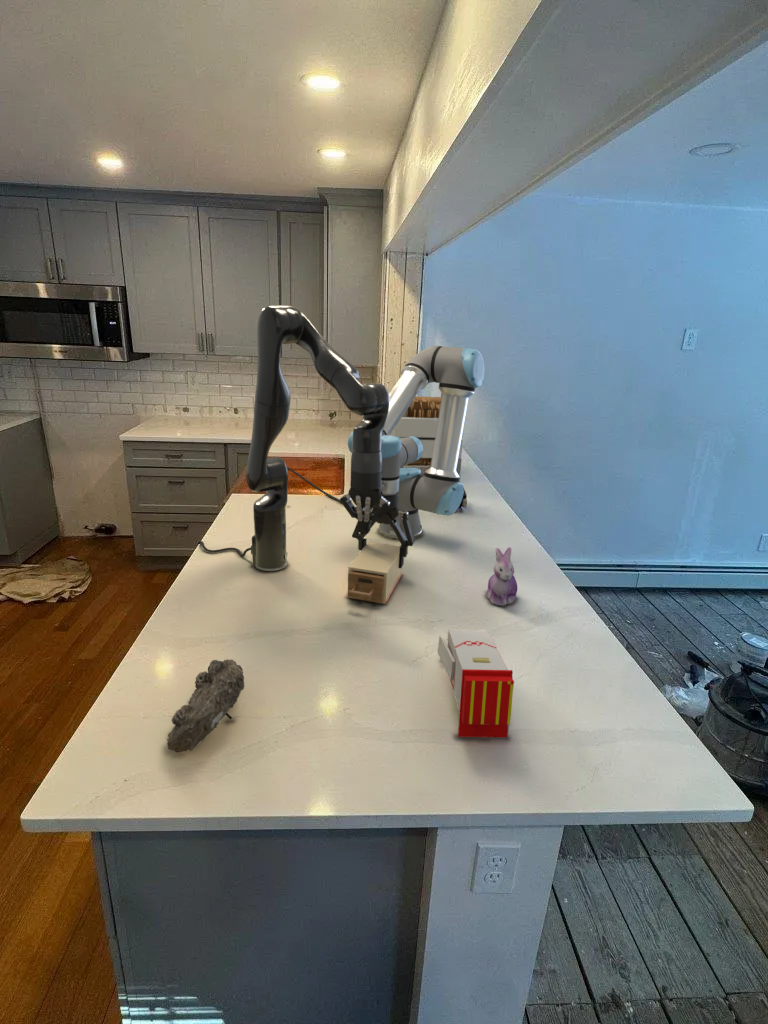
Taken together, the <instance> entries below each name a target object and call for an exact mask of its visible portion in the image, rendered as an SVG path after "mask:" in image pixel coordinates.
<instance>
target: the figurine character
mask: <svg viewBox="0 0 768 1024" xmlns="http://www.w3.org/2000/svg"><path fill="white" fill-rule="evenodd" d="M467 495H468V494H467V493H466V490H465V489H464V494H463V498H462V501H461V503H460V505H459V507H458V509H459V510H460V512H463V509H464V508H465V509H466V508H467V506H468V499H467V497H468V496H467ZM458 509H457V510H458Z"/></svg>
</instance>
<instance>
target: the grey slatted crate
mask: <svg viewBox="0 0 768 1024" xmlns="http://www.w3.org/2000/svg"><path fill="white" fill-rule="evenodd" d="M440 393H441V392H440ZM441 399H442V393H441V394H440V396H417V395H416V397H415V398H414V400H413V401H412V403H411V404H410V406H409V407H408V409H407V410H406V412H405V413H404V415H403V416H402V418H401V419H400V421H399V422H398V423H397V425H396V426H395V428H394V429H393V431H392V432H391V434H390V435H389V436H396V437H400V438H405V437H407V436H408V437H410V436H413V437H416V438H418V439H419V440H420V441H421V443H422V445H423V454H422V456H421V458H420V459H418V460H417V461H415V462H414V463H411V464H408V465H406V467H408V466H411V467H415V466H416V467H417V466H418V467H431V461H432V455H433V448H434V442H435V436H436V430H437V424H438V418H439V412H440V406H441ZM464 429H465V427H464V428H463V434H462V439H463V438H464V431H465V430H464ZM462 439H461V445H460V451H459V457H458V463H457V468H456V471H457V473H458V475H459V476H460V478H459V482H460V483H461V472H462V461H463V460H462V453H463V442H464V441H463V440H462ZM400 468H405V466H402V467H400Z"/></svg>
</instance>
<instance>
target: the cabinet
mask: <svg viewBox="0 0 768 1024" xmlns="http://www.w3.org/2000/svg"><path fill="white" fill-rule="evenodd" d="M400 546H401V545H400ZM400 546H399V545H393V544H386V543H379V542H372V541H367V544H366V545H365V546H364V548H363V549H362V550H361V551H359V552H358V554H357V555H356V556H355V558H354V559H353V561H352V562H351V563H350V564H349V566H348V569H347V570H348V571H347V574H348V573H349V572H350V571H352V572H354V571H361V572H367V573H373V574H380V575H384V589H383V602H382V603H381V604H384V605H385V604H387V602H388V600H389V598H390V596H391V595H392V593H393V591H394V590H395V588H396V587H397V584H398V583H399V581H400V579H401V577H402V573H403V572H402V571H403V567H402V568H399V554H400Z"/></svg>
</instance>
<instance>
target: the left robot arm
mask: <svg viewBox="0 0 768 1024" xmlns="http://www.w3.org/2000/svg"><path fill="white" fill-rule="evenodd" d="M291 344H295V345H297V346H299V347H300V348H302V349H304V350H305V351H306V352H307V353H308V354H309V356H310V358H311V362H312V364H313V367H314V369H315V371H316V373H317V374H318V375H319V376H320V378H322V379H323V380H324V381H325V382H326V383H327V384H328V385H329V386H331V388H333V390H334V391H336V393H337V394H338V396H339V398H340V399H341V401H342V403H343V404H344V405H345V407H346V408H347V409H348V410H349V412H351V413H353V414H355V415H356V416H360V417H362V419H361V421H360V422H359V423H358V424H356V425H355V426H354V427H353V430H352V432H353V443H352V453H351V456H350V487H349V490H348V491H347V492H348V493H346V494H343V496H341V497H340V498H339V499H340V501H341V502H342V503H341V504H342V506H343V507H344V509H345V510H346V511H347V513H348V514H349V515H350V517H351V518H352V519H356V520H357V522H358V532H359V534H360V535H365V537H366V536H367V535H368V534H369V533H370V532H371V529H370V527H371V521H372V520H373V521H375V520H376V519H377V518H378V517H379V516H380V515H381V514H382V513H383V512H384V510H385V509H386V508H387V507H388V506H389V505H390V503H391V502H390V501H389V500H386V499H385V498H384V497H383V493H382V491H381V478H382V432H383V429H384V426H385V423H386V419H387V415H388V411H389V406H390V397H389V393H390V392H389V390H388V389H387V387H386V386H385V385H384V384H383V383H381V382H380V383H379V382H370V383H361V382H360V377H361V376H360V372H359V370H358V369H357V368H356V367H355V366H354V365H353V364H352V363H351V362H349V360H347V359H346V358H345V357H344V356H343V355H341V354H340V353H339V352H338V351H337V350H336V349H335V348H334V347H333V346H332V345H330V343H329V342H328V341H327V340H326V339H325V337H324V336H323V335H322V334H321V333H320V331H319V330H318V329H317V327H316V326H315V325H314V324H313V323H312V322H311V320H310V319H309V318H308V317H307V315H306V314H305V313H304V312H303V311H302V310H301V309H300V308H299V307H296V306H294V305H288V304H286V305H284V304H282V305H280V304H279V305H267V306H265V307H263V308H262V310H260V313H259V315H258V319H257V371H256V386H255V393H254V394H255V395H254V405H253V421H252V432H251V440H250V446H249V451H248V455H247V456H248V457H247V462H246V467H245V468H246V469H245V478H246V479H245V480H246V484H247V486H248V489H249V490H250V491H252V492H254V493H264V492H265V493H264V494H263V495H262V496H261V497H260V498H258V499H256V500H255V501H254V503H253V507H252V508H253V509H252V510H253V530H254V535H252V537H251V545H250V547H248V548H246V549H245V550H244V551H243V553H242V551H241V550H240V549H239V548H236V547H225V548H220V549H208V548H207V547H206V546H205V543H204V541H203V540H200V541H198V543H197V545H201V547H202V549H203V550H204V551H205V552H208V553H220V552H226V551H235V552H237V553H238V554H239V556H240V557H245V556H246V555H247V553H248V552H249V551H250V554H251V556H252V567H254V568H256V569H257V570H259V571H263V572H277V571H280V570H283V569H284V568H286V567H287V566H288V559H287V558H288V552H287V513H286V512H287V511H286V510H287V504H288V495H289V493H288V492H289V470H288V469H287V467H288V466H287V464H286V462H285V460H284V459H283V458H282V457H279V456H272V457H268V456H269V453H270V450H271V447H272V445H273V444H274V442H275V440H276V439H277V438H278V436H279V435H280V434H281V432H282V430H283V429H284V428H285V427H286V426H285V425H286V424H287V422H288V420H289V415H290V407H291V392H290V388H289V386H288V384H287V381H286V378H285V376H284V374H283V372H282V368H281V352H282V346H283V345H291ZM379 500H380V504H379V506H380V508H379V509H378V510H377V512H376V513H375V514H372V511H373V507H374V506H375V505H376V504H377V503H378V502H379ZM355 507H357V509H356V508H355Z"/></svg>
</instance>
